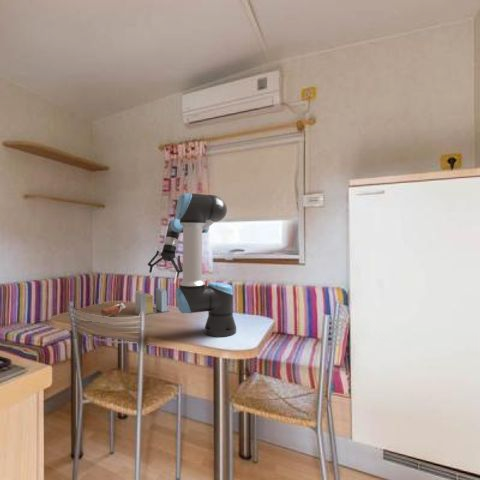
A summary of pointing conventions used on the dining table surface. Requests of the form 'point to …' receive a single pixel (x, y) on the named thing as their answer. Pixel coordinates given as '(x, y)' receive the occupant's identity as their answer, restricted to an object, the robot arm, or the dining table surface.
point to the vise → (143, 303)
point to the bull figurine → (112, 310)
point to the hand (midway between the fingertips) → (162, 280)
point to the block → (149, 304)
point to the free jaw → (161, 299)
